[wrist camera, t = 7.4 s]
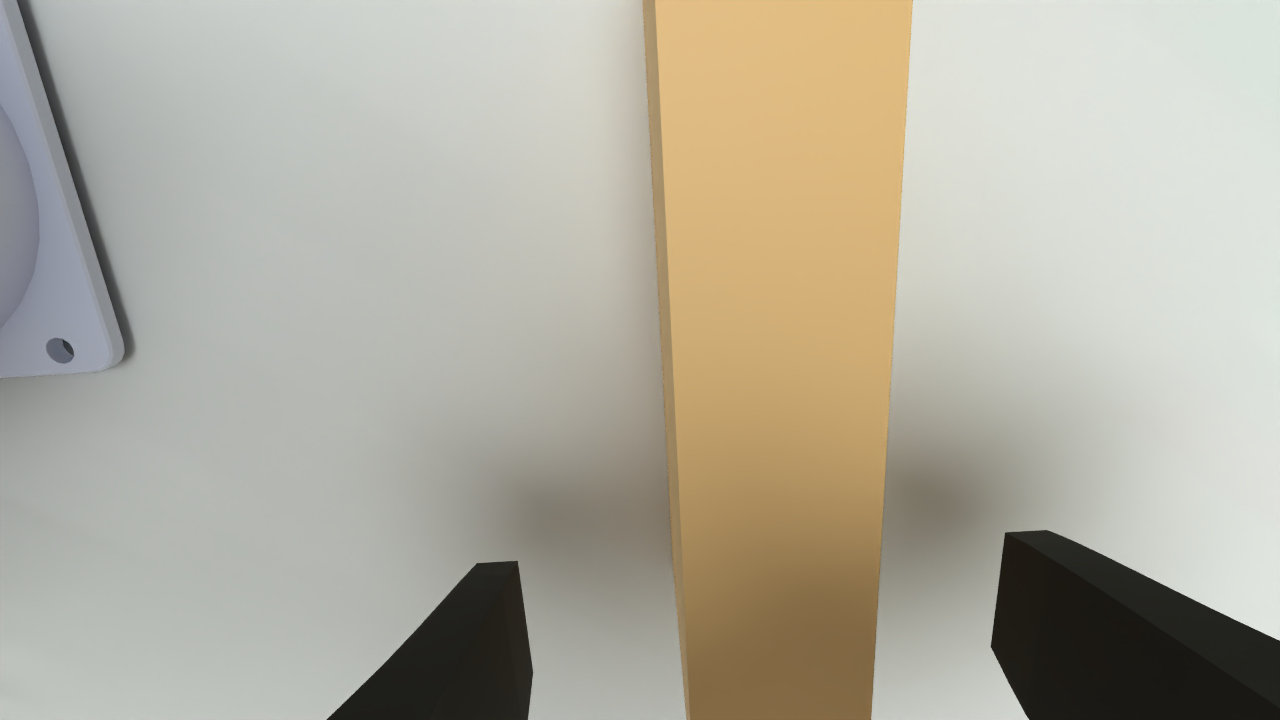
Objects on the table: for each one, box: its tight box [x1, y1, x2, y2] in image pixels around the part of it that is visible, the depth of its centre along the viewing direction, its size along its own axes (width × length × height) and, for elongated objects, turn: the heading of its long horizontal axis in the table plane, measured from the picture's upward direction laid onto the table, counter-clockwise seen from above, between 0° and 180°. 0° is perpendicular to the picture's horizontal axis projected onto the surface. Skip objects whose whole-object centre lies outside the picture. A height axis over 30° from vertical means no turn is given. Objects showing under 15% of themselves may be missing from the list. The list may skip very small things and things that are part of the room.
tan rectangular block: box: [643, 0, 913, 720], centre depth 11 cm, size 2×12×6 cm, turn 3°
